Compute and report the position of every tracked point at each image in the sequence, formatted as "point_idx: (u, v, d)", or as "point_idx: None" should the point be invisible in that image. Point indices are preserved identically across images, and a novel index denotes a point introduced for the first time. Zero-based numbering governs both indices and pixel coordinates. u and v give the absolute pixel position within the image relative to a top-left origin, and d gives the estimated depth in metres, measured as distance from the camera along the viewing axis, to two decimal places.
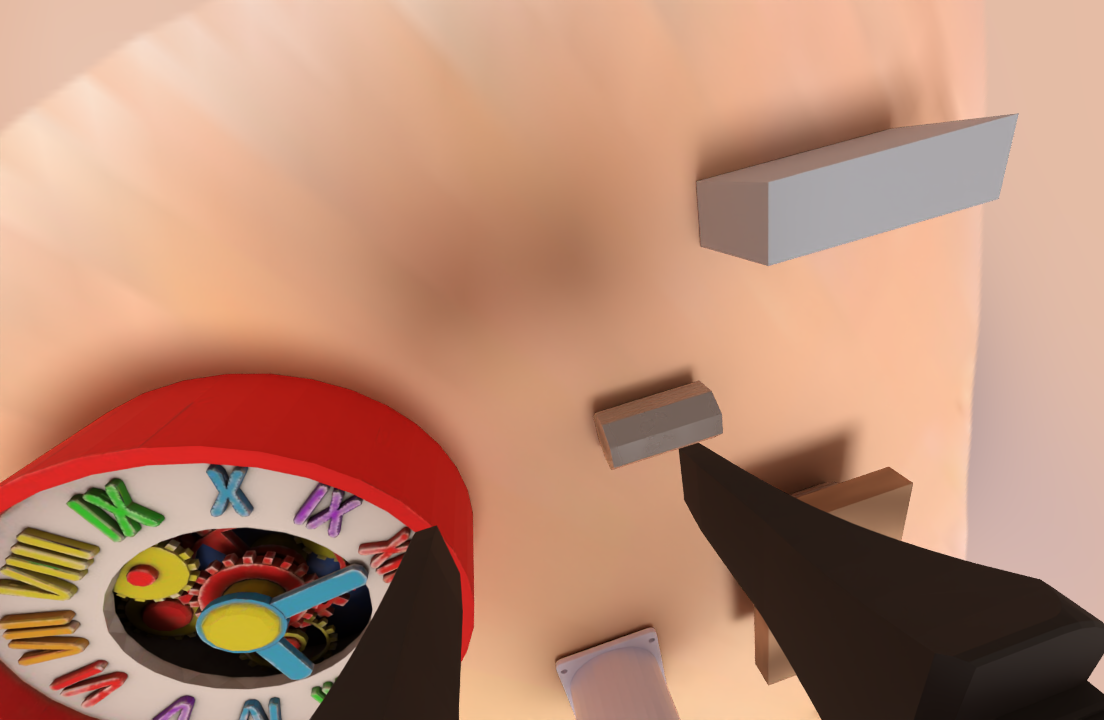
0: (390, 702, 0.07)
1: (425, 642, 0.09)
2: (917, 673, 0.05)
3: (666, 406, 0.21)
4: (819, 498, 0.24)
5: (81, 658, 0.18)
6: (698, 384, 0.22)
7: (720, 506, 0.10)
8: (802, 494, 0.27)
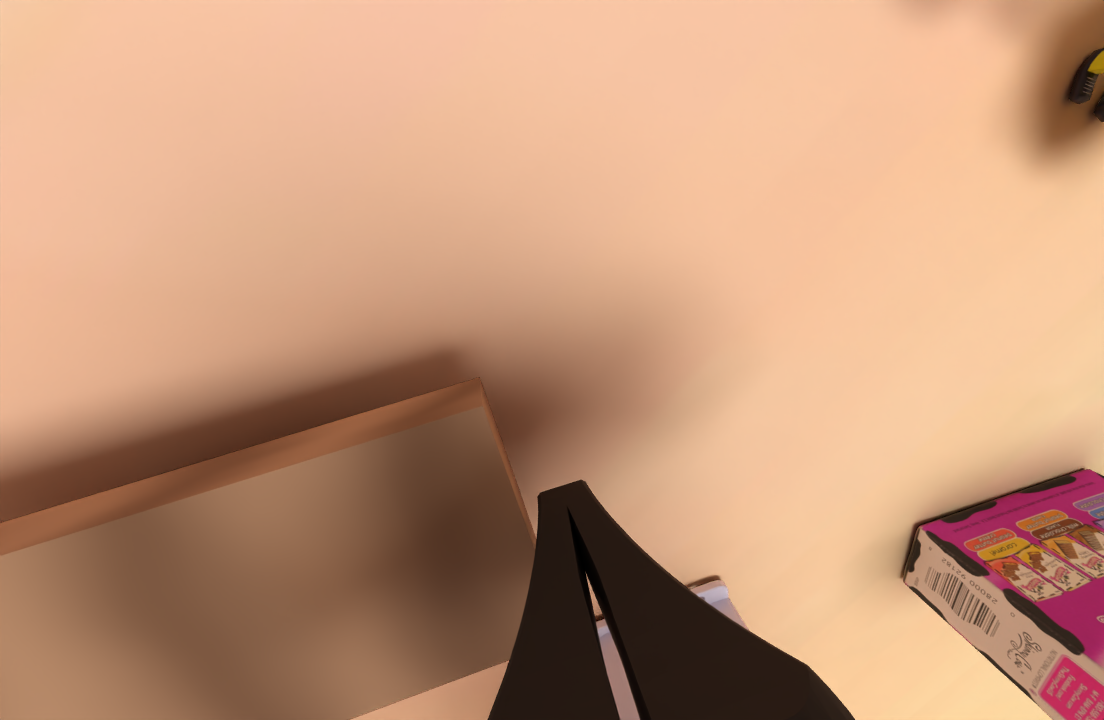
0: (592, 632, 0.07)
1: (584, 589, 0.09)
2: None
3: None
4: None
5: None
6: None
7: (584, 551, 0.10)
8: None
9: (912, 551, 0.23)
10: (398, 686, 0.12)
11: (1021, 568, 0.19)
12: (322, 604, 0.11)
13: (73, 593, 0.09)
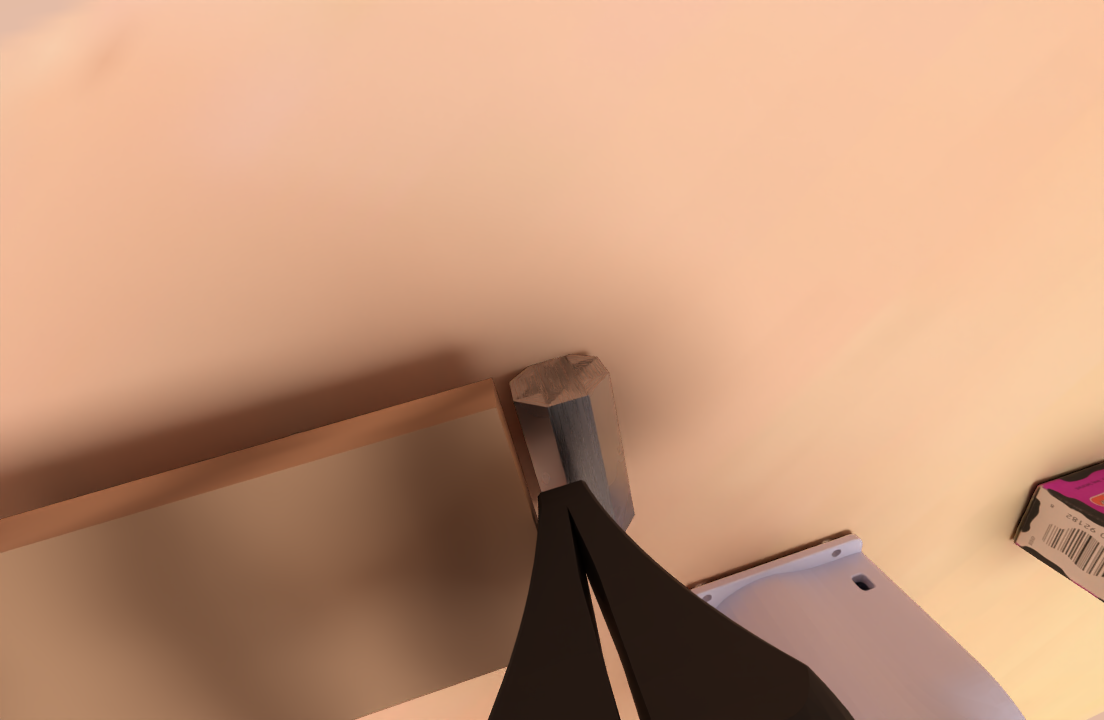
0: (592, 632, 0.07)
1: (584, 588, 0.09)
2: None
3: None
4: None
5: None
6: None
7: (584, 551, 0.10)
8: None
9: (1028, 511, 0.23)
10: (404, 687, 0.12)
11: None
12: (330, 604, 0.10)
13: (83, 588, 0.09)
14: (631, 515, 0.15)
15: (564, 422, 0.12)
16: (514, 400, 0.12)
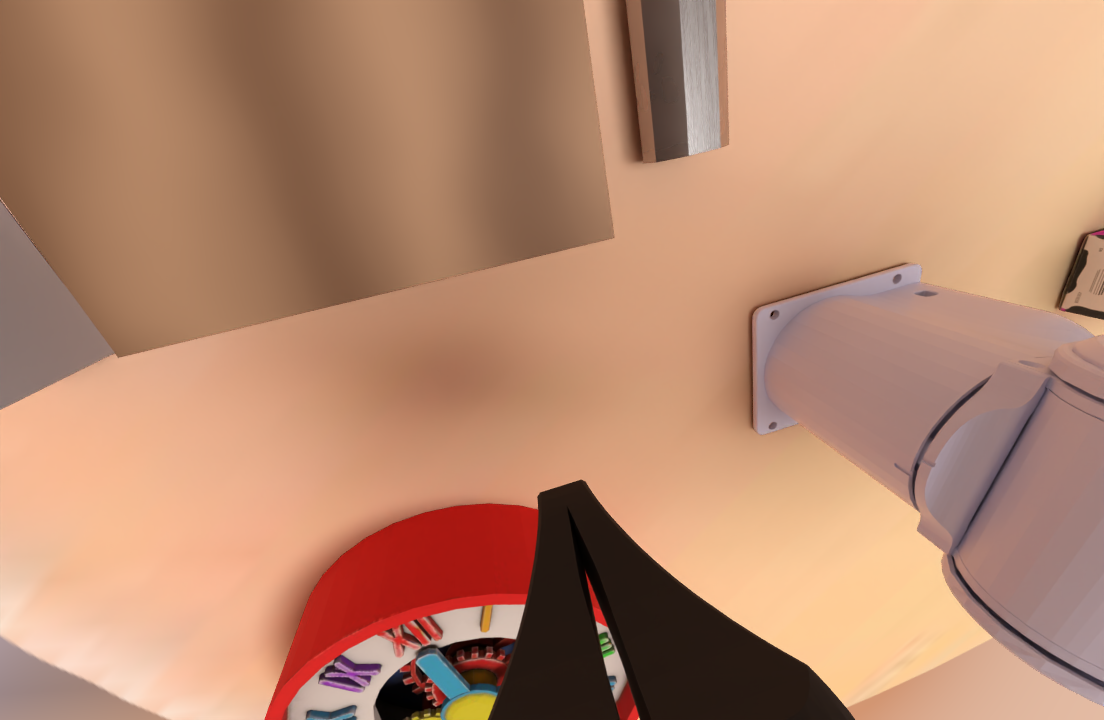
0: (592, 632, 0.07)
1: (584, 588, 0.09)
2: None
3: None
4: None
5: None
6: None
7: (584, 551, 0.10)
8: None
9: (1075, 267, 0.24)
10: (457, 253, 0.13)
11: None
12: (400, 105, 0.11)
13: (188, 12, 0.10)
14: (727, 139, 0.16)
15: None
16: None
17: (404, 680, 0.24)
